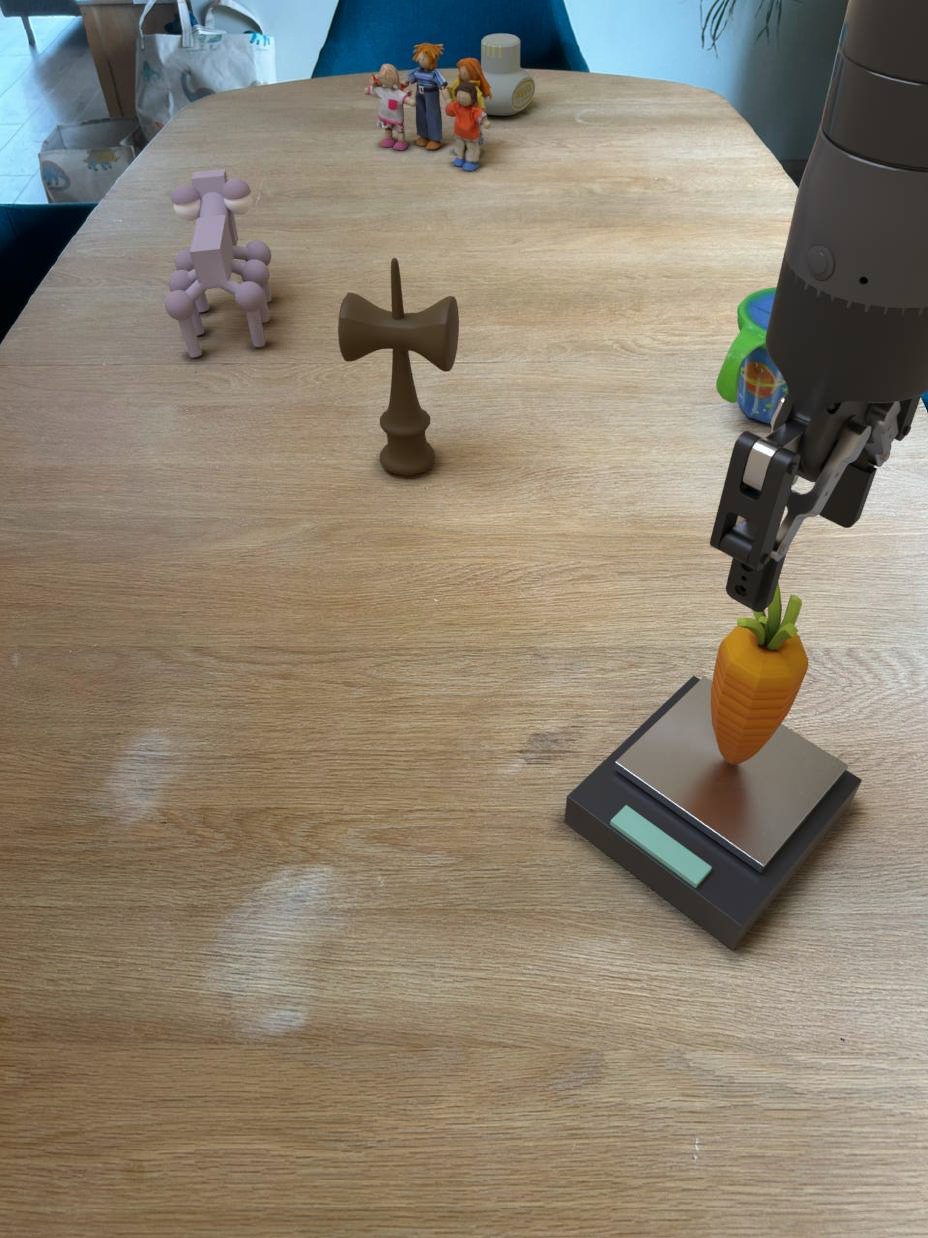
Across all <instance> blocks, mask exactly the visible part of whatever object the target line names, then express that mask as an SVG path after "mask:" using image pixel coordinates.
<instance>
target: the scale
mask: <svg viewBox="0 0 928 1238" xmlns="http://www.w3.org/2000/svg"><path fill="white" fill-rule="evenodd" d="M700 680H701V678H699V677H697V676H695V675H692V676H691V677H690V679H688V680H687V681H686V682H685V683H684V684H683V685H682V686H681V687H680V688H679V689H678V690H677V691H675V692H674V693H673V694H672V695H671V696H670V697H669V698H668V699H667V700H666V701H665V702H664V703H663V704H662V705H661V706H660V707H659V708H658V709H657V710H655V712H653V714H651V715H650V716H649V717H648V718H647V719H646V720H645V721H644V722H643V723H642V724H640V726H639V727H637V729H636V730H635V731H634V732H633V733H631V734H630V735H629V737H627V738H626V739H625V740H624V741H623V742H622V743H621V744H620V745H619V746H618V747H617V748H615V750H613V752H611V754H609V756H607V758H606V759H604V760H603V761H602V762H601V763H600V764H599V765H598V766H597V767H596V768H595V769H594V770H593V771H591V772H590V773H589V774H588V775H587V776H586V777H585V778H584V779H583V780H582V781H581V782H580V783H579V784H578V785H577V786H576V787H575V788H574V789H573V790H572V791H570V793H568V794H567V796H566V802H565V811H564V812H565V813H564V818H563V819H564V820H563V822H564V823H565V824H566V825H567V826H568V827H570V828H571V829H573V830H574V831H575V832H577V833H578V834H579V835H581V836H582V837H583V838H584V839H586V840H587V841H588V842H589V843H591V844H592V845H593V846H595V847H596V848H598V849H599V850H600V851H601V852H603V853H604V854H605V855H607V856H608V857H609V858H610V859H612V860H613V861H614V862H616V863H617V864H619V865H620V866H621V867H622V868H623V869H625V870H626V871H627V872H628V873H630V874H631V875H632V876H634V877H635V878H637V879H638V880H639V881H640V882H641V883H643V884H644V885H646V886H647V887H649V889H651V890H653V892H655V893H656V894H658V895H659V896H661V898H663V899H664V900H665V901H667V902H668V903H670V904H671V905H672V906H673V907H675V908H676V909H677V910H678V911H680V912H681V913H682V914H684V915H685V916H686V917H687V918H689V919H690V920H692V921H693V922H695V923H696V925H698V926H700V927H701V928H702V929H704V930H705V931H706V932H707V933H709V934H710V935H711V936H713V937H714V938H715V939H716V940H718V941H719V942H720V943H722V944H723V945H724V946H726V947H727V948H728V949H729V950H730V951H734V950H735V949H736V947H737V946H738V945H739V944H740V943H741V941H742V940H743V939H744V937H745V936H746V935H747V934H748V932H750V930H751V929H752V927H753V926H755V924H756V923H757V921H758V920H759V919H760V918H761V917H762V915H763V914H764V913H765V912H766V911H767V909H768V908H769V907H770V905H772V903H773V902H774V900H775V899H776V898H777V897H778V896H779V894H780V893H781V892H782V891H783V890H784V888H785V887H786V886H787V884H788V883H789V882H790V881H791V879H793V877H794V876H795V875H796V873H797V872H798V871H799V869H800V868H801V867H802V866H803V865H804V864H805V862H806V861H807V860H808V859H809V858H810V856H811V855H812V853H814V851H815V850H816V849H817V847H818V846H819V845H820V844H821V843H822V841H823V840H824V839H825V838H826V836H827V835H828V834H829V833H830V831H831V830H832V829H833V828H834V827H835V825H836V824H837V823H838V822H839V820H840V819H841V818H842V817H843V816H844V814H845V813H846V812H847V811H848V810H849V808H850V807H851V805H852V803H853V801H854V799H855V796H856V794H857V793H858V791H859V788H860V786H861V784H862V782H863V779H862V778H860V777H859V776H857V775H855V774H854V773H852V772H850V771H848V770H847V771H846V773H845V774H844V775H843V776H842V778H841V779H840V780H839V781H838V782H837V783H836V785H835V786H834V787H833V788H832V789H831V791H830V792H829V793H828V794H827V795H826V797H825V798H824V799H823V800H822V801H821V803H820V804H819V805H818V806H817V807H816V809H815V810H814V811H813V812H812V813H811V815H810V816H809V817H808V818H807V819H806V820H805V822H804V823H803V824H802V825H801V826H800V828H799V829H798V830H797V831H796V832H795V834H794V835H793V836H792V837H791V838H790V840H789V841H788V842H787V843H786V844H785V846H784V847H783V848H782V849H781V850H780V852H779V853H778V854H777V855H776V856H775V857H774V859H773V860H772V861H771V862H770V863H769V865H768V866H767V867H766V868H765V869H764V871H763V872H762V873H760V872H759V871H757V870H756V869H755V868H753V867H752V866H750V865H749V864H748V863H746V862H745V861H743V860H742V859H740V858H739V857H738V856H736V855H735V854H733V853H732V852H731V851H729V850H728V849H726V848H725V847H724V846H722V845H721V844H719V843H718V842H716V841H715V840H714V839H712V838H711V837H709V836H708V835H707V834H705V833H704V832H702V831H701V830H699V829H698V828H697V827H695V826H694V825H692V824H691V823H690V822H688V821H687V820H685V819H684V818H683V817H681V816H680V815H678V814H677V813H675V812H674V811H673V810H671V809H670V808H668V807H667V806H666V805H664V804H663V803H661V802H660V801H659V800H657V799H656V798H654V797H653V796H651V795H650V794H649V793H647V792H646V791H644V790H643V789H642V788H640V787H639V786H637V785H636V784H635V783H633V782H632V781H630V780H629V779H627V778H626V777H625V776H623V775H622V774H620V773H619V772H618V771H616V770H615V769H614V766H615V762H616V761H617V760H618V759H619V758H620V757H621V756H622V755H623V754H624V753H625V752H626V751H627V750H628V749H629V748H630V747H631V746H632V745H633V744H634V743H635V742H636V741H637V740H638V739H639V738H640V737H642V736H643V735H644V734H645V733H646V732H647V731H648V730H649V729H650V728H651V727H652V726H653V725H654V724H655V723H656V722H657V721H658V720H659V719H660V718H661V717H662V716H663V715H664V714H665V713H666V712H667V711H669V710H670V709H671V708H672V707H673V706H674V705H675V704H676V703H677V702H678V701H679V700H680V699H681V698H682V697H683V696H684V695H685V694H686V693H687V692H688V691H689V690H690V689H691V688H692V687H693V686H694V685H696V684H697V683H698V682H699V681H700Z"/></svg>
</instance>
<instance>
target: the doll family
mask: <svg viewBox="0 0 928 1238" xmlns="http://www.w3.org/2000/svg"><path fill="white" fill-rule="evenodd" d="M443 46H444V44H443V43H441V44H440V43H438V44H437V43H435V44H433V43H428V42H423V43H420V44H416V45H414V46H413V48H415V49H414V50H413V52H412V53H413V54H415V55H413V57H412V61H413V62H416V63H418V64H419V65H420V66H418V67H416V68H414V69H411V70H409V71H406V76H407V77H406V78H404V79H403V80H402V81H401V79H400V74H399V73H398V69H397V67H395V66H394V65H393V64H390V63H383V64H382V65H381V67H380V69H379V72H378V73H376V74H374V73H371V77H370V78H369V81H368V82H369V85H368V86H366V87H365V88H364V91H363V92H364V94H365V95H366V96H370V97H372V98H375V99H377V100H378V109H377V117H378V119H377V122H376V127H377V128H378V127H380V129H381V128H382V129H384V132H385V138H384V139H383V140H382V141H381V144H380V145H381V147H383V148H393V149H394V150H396V151H405V150H407V149H408V148H409V143H408V141H407V140H406V131H405V129H406V128H405V124H404V122H405V109H404V105H407V106H409V107H411V108H415V127H416V128H415V129H416V135H417V136H418V138H417V139H416V141H415V145H417V146H419V147H425V149H427V150H437V149H438V148H440V147H442V146H443V142H442V141H443V140H444V137H443V118H442V107H441V98H440V97H441V96H440V95H442V97H443V100H444V101H445V106H444V114H445V115H446V116H447V117H450V118H455V119H454V123H453V137H454V139H455V143H456V147H455V148H454V153H455V154H456V158H455V159H454V161H453V166H455V167H461V168H462V170H463V171H466V172H474V171H476V170H477V169H479V167H480V163H479V161H480V155H481V153H482V152H481V149H480V146H482V145H487V142H486V140H485V136H484V132H483V130H482V127H483V128H484V129H485V130H489V129H490V128H491V127H492V123H491V121H489V120H488V114H486V113H484V111H485V109H486V108H485V105H484V102H483V98H482V97H484V99H485V100H486V99H487V97H488V96H489V97H490V100H492V98H493V97H492V94H491V92H490V88H491V86H490V85H489V83H488V82H487V80H486V79H485V77H484V74H483V72H482V68H481V62H480V61H479V60H478V59H477V58H474V57H465V58H463V59H460V60H459V61H458V62H457V63H456V66H457V70H458V73H457V79H456V80H455V81H453V82H452V84H450V85H449V83H448V81H447V79H446V78H445V76H444V75H443V73H442V72H441V71H440V70H438V69H436V68H437V67H438V65H437V63H438V62H437V61H439V60H440V55H444V53H443V50H445V48H444V47H443ZM414 84H416V90H415V95H414V99H413V98H412V95H413V93H412V92H413V90H412V89H411V87H409V86H410V85H414ZM394 86H395V87H394ZM440 93H441V94H440ZM393 131H395V132H397V140H396V138H395V137H394V135H393Z"/></svg>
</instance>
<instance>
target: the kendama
mask: <svg viewBox="0 0 928 1238" xmlns="http://www.w3.org/2000/svg"><path fill="white" fill-rule="evenodd" d="M390 292H391V293H390V296H391V297H390V299H391V310H387V309H384V308H381V307H379V306H378V305H376V304H374V303H372V302H371V301H369V300H368V299H366V298H365V297H363V296H362V295H360V294H358V293H355V292H348V293H347V294H346V295H345V296H344V298H343V299H342V302H341V304H340V308H339V313H338V320H337V322H338V324H337V339H338V345H339V350H340V354H341V356H342V358H343V360H344V362H348V363H349V362H350V363H351V362H355V361H358V360H359V359H362V358H364V357H365V356H368V355H370V354H372V353H374V352H377V351H380V350H392V362H391V365H392V366H391V382H390V395H389V402H388V406H387V409H386V410H385V411H383V412H382V415H381V416H380V417H379V426H380V428H381V429H382V431H383V432H384V433H385V434H386V438H387V442H386V444H385V445H384V446H383V448H382V449H381V451H380V453H379V463H380V465H381V467H382V468H383V469H384V470H386V471H388V472H389V473H392V474H394V475H399V476H415V475H418V474H423V473H424V472H426V471H427V470H429V469H430V468H431V467H432V466H433V464H434V463H435V460H436V455H435V454H436V451H435V449H434V448H433V447H432V445H431V444H430V443H429V442H428V440H427V436H426V431H427V430H428V428H429V426H430V425H431V416H430V414H429V413H428V412H427V410H424V409H423V408H422V406H421V404H420V401H419V398H418V394H417V389H416V385H415V381H414V375H413V372H412V371H413V370H412V364H411V359H410V352H414V353H415V354H418V355H420V356H421V357H422V358H424V359H426V360H427V362H429V363H431V364H432V365H433V366H434V367H436V368H437V369H438V370H440V371H442V372H444V373H445V372H446V373H447V372H451V370H452V369H453V367H454V364H455V361H456V358H457V352H458V345H459V336H460V335H459V333H460V315H459V306H458V301H457V299H456V297H455V296H452V295H448V296H447V297H446V296H445V297H444V298H442V299H440V300H438V301H437V302H436V303H434V304H432V305H430V306H428V307H427V308H425V309H423V310H422V311H418V312H405V309H404V300H403V289H402V280H401V270H400V264H399V260H398V258H396V257H393V258H391V261H390ZM409 351H410V352H409Z"/></svg>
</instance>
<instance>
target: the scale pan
mask: <svg viewBox="0 0 928 1238" xmlns="http://www.w3.org/2000/svg"><path fill="white" fill-rule="evenodd" d="M712 681H713V680H712V679H709V678H708V677H706V676H703V677H701V678H700V681H699V682H698V683H697V684H696V685H694V686H693V687H692V688H691V689H690V690H689V691H688V692H687V693H686V694H685V695H684V696H683V697H682V698H681V699H680V700H679V701H678V702H677V703H676V704H675V705H674V706H673V707H672V708H671V709H670V710H669V711H667V712H666V713H665V714H664V715H663V716H662V717H661V718H660V719H659V720H658V721H657V722H656V723H655V724H654V725H653V726H652V727H651V728H650V729H649V730H648V731H647V732H646V733H645V734H644V735H643V736H642V737H640V738H639V739H638V740H637V741H636V742H635V743H634V744H633V745H632V746H631V747H630V748H629V749H628V750H627V751H626V752H625V753H624V754H623V755H622V756H621V757H620V758H619V759H618V760H617V761H616V762H615V766H614V769H615V770H616V771H618V772H619V773H620V774H622V775H623V776H625V777H626V778H627V779H629V780H630V781H632V782H633V783H635V784H636V785H637V786H639V787H640V788H642V789H643V790H644V791H646V792H647V793H649V794H650V795H651V796H653V797H654V798H656V799H657V800H659V801H660V802H661V803H663V804H664V805H666V806H667V807H668V808H670V809H671V810H673V811H674V812H675V813H677V814H678V815H680V816H681V817H683V818H684V819H685V820H687V821H688V822H690V823H691V824H692V825H694V826H695V827H697V828H698V829H699V830H701V831H702V832H704V833H705V834H707V835H708V836H709V837H711V838H712V839H714V840H715V841H716V842H718V843H719V844H721V845H722V846H724V847H725V848H726V849H728V850H729V851H731V852H732V853H733V854H735V855H736V856H738V857H739V858H740V859H742V860H743V861H745V862H746V863H748V864H749V865H750V866H752V867H753V868H755V869H756V870H757V871H759V872H760V873H762V872H763V871H764V869H765V868H766V867H767V866H768V865H769V863H770V862H771V861H772V860H773V859H774V857H775V856H776V855H777V854H778V853H779V852H780V850H781V849H782V848H783V847H784V846H785V844H786V843H787V842H788V841H789V840H790V838H791V837H792V836H793V835H794V834H795V832H796V831H797V830H798V829H799V828H800V826H801V825H802V824H803V823H804V822H805V820H806V819H807V818H808V817H809V816H810V815H811V813H812V812H813V811H814V810H815V809H816V807H817V806H818V805H819V804H820V803H821V801H822V800H823V799H824V798H825V797H826V795H827V794H828V793H829V792H830V791H831V789H832V788H833V787H834V786H835V785H836V783H837V782H838V781H839V780H840V779H841V778H842V776H843V775H844V774H845V773H846V771H848V768H849V764H847V763H846V762H844V761H843V760H841V759H839V758H838V757H836V756H834V755H832V754H831V753H829V752H828V751H826V750H824V749H823V748H822V747H820V746H819V745H816V744H815V743H813V742H812V741H810V740H808V739H807V738H805V737H803V736H801V735H800V734H798V733H797V732H795V731H794V730H792V729H790V728H789V727H787V726H786V725H784V724H782V723H781V725H780V726H779V727H778V729H777V730H776V731H775V733H774V734H773V735H772V737H771V738H770V739H769V740H768V742H767V743H766V744H765V745H764V746H763V747H762V748H761V749H760V751H759V752H758V753H756V754H755V755H754V756H753V757H751V758H750V759H749V760H747V761H744V762H742V763H740V764H730V763H728V762H727V761H725V760H724V758H723V756H722V755H721V753H720V751H719V748H718V744H717V740H716V737H715V733H714V729H713V725H712V716H711V687H712Z"/></svg>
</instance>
